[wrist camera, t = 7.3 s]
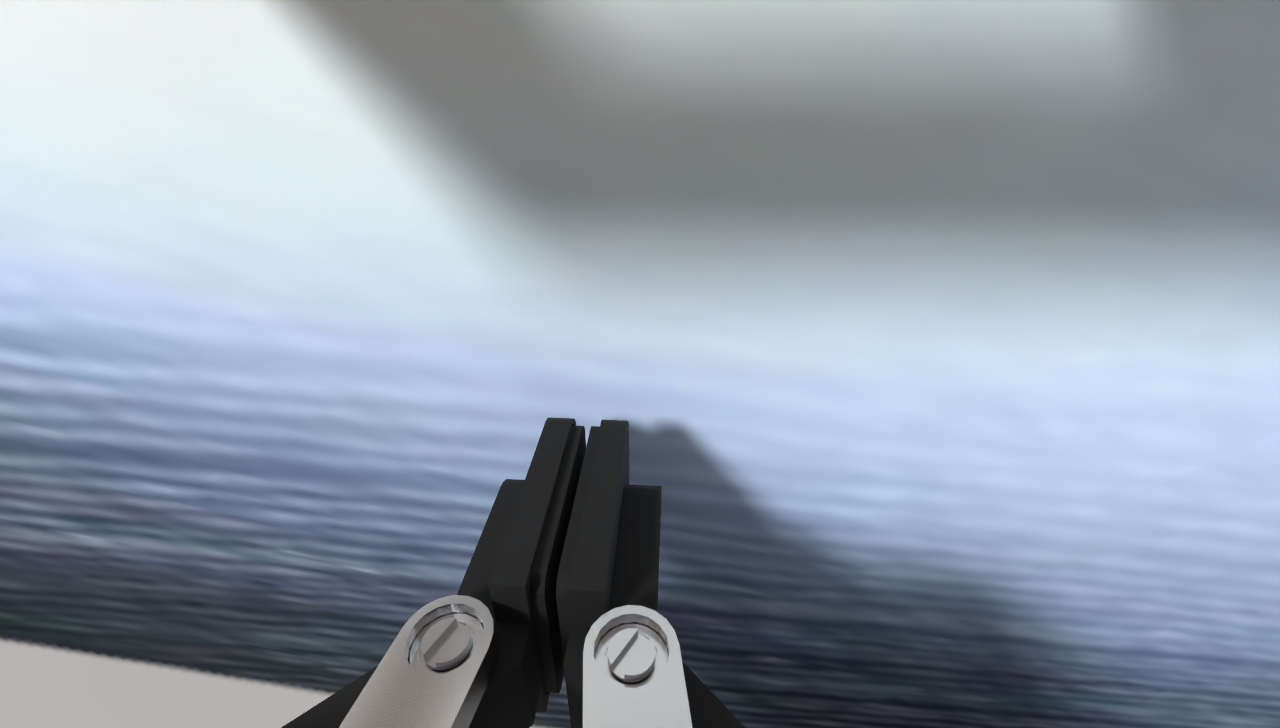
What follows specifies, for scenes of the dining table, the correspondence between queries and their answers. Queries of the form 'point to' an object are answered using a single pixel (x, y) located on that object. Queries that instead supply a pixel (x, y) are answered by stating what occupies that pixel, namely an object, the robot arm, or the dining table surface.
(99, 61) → the dining table surface
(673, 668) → the robot arm
